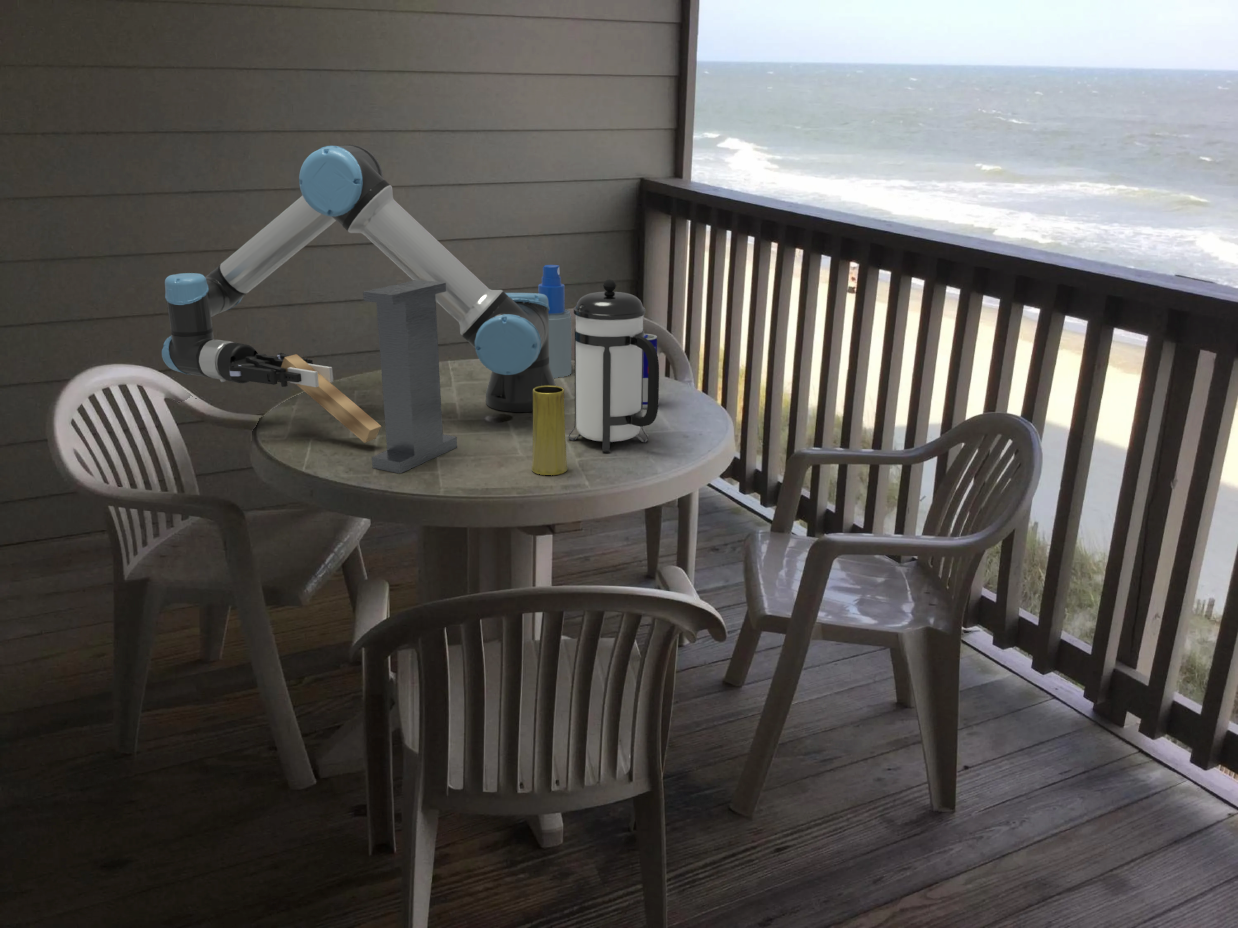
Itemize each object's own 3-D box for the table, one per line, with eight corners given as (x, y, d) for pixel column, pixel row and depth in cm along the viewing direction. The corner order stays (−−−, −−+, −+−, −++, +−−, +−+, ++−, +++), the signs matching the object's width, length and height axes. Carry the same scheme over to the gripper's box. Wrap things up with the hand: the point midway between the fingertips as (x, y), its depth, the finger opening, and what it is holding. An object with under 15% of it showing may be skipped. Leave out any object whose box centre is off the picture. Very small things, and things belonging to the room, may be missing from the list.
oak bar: (279, 370, 182) (284, 357, 181) (291, 366, 185) (296, 354, 183) (364, 443, 178) (370, 430, 176) (375, 438, 180) (381, 426, 179)
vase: (531, 464, 172) (530, 384, 168) (566, 463, 173) (566, 384, 168) (531, 476, 167) (530, 394, 162) (568, 475, 167) (567, 394, 162)
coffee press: (560, 453, 178) (558, 286, 168) (576, 426, 193) (575, 271, 183) (656, 458, 176) (660, 289, 166) (665, 431, 191) (669, 274, 181)
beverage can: (653, 410, 204) (655, 338, 199) (629, 408, 205) (630, 337, 200) (657, 403, 209) (659, 333, 204) (633, 402, 210) (634, 332, 205)
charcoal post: (372, 467, 170) (358, 292, 160) (430, 442, 183) (421, 279, 173) (400, 473, 167) (388, 296, 157) (457, 447, 181) (449, 282, 171)
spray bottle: (577, 370, 235) (576, 264, 226) (563, 379, 227) (562, 269, 218) (542, 367, 237) (540, 261, 229) (527, 376, 229) (524, 267, 221)
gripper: (265, 371, 198) (356, 387, 188) (199, 390, 185) (293, 408, 174) (260, 334, 196) (352, 348, 185) (193, 350, 182) (289, 366, 172)
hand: (323, 377), depth 180 cm, fingers closed on oak bar, 3 cm apart
